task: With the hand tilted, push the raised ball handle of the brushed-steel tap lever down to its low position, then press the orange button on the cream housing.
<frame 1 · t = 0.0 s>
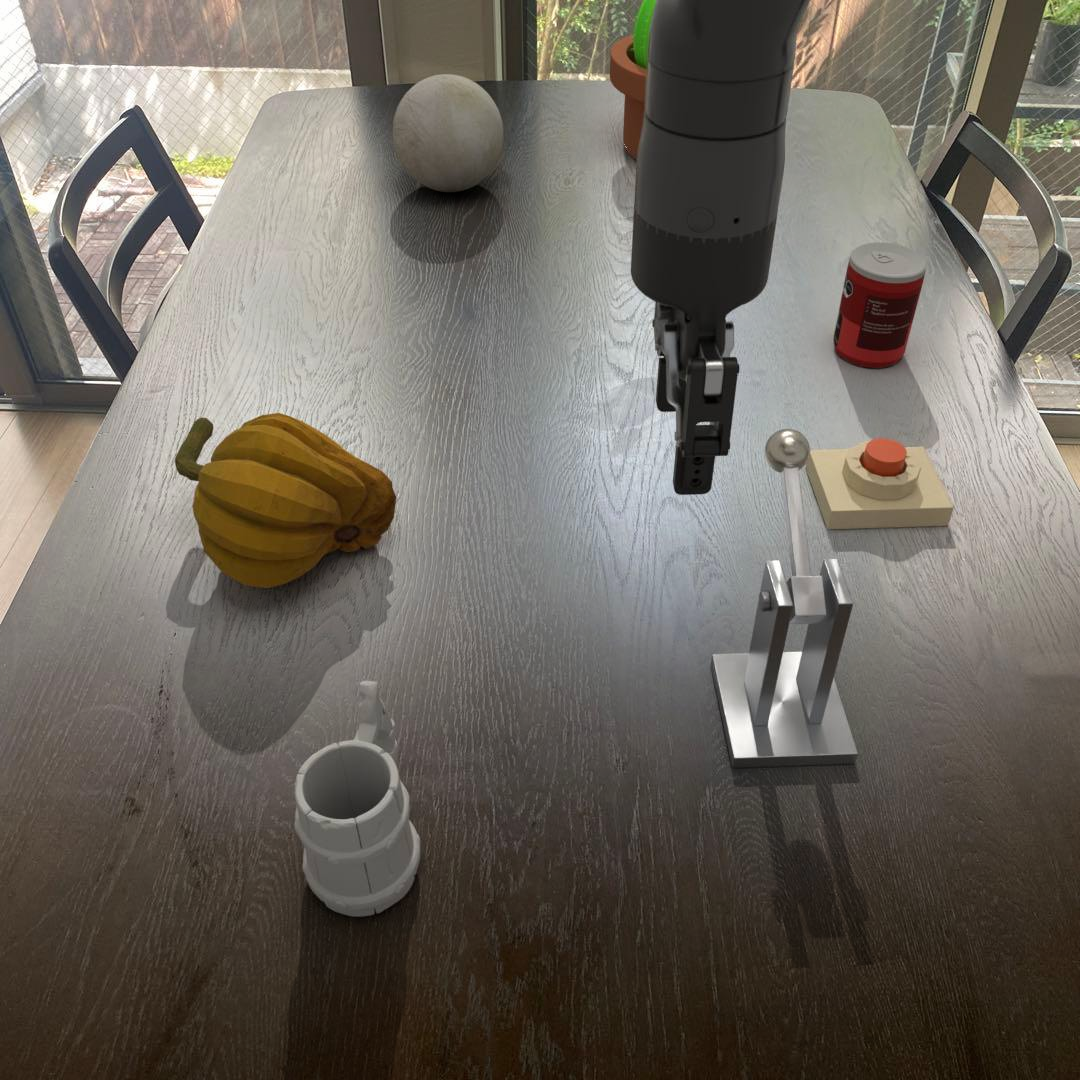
hand: (681, 447, 67), 24 cm above the table, tool pointing down, fingers open, 8 cm apart
potted cactus: (680, 149, 162), on the table
button: (884, 457, 98), point 4 cm above the table, slide at 0.1 cm
tap lever: (795, 522, 76), point 15 cm above the table, hinge at 30.0°
mug: (373, 843, 74), on the table
button box: (874, 496, 101), on the table
tap bracket: (779, 711, 82), on the table
canned food: (867, 351, 120), on the table
decorative sphere: (451, 188, 152), on the table
pumpkin: (286, 551, 96), on the table
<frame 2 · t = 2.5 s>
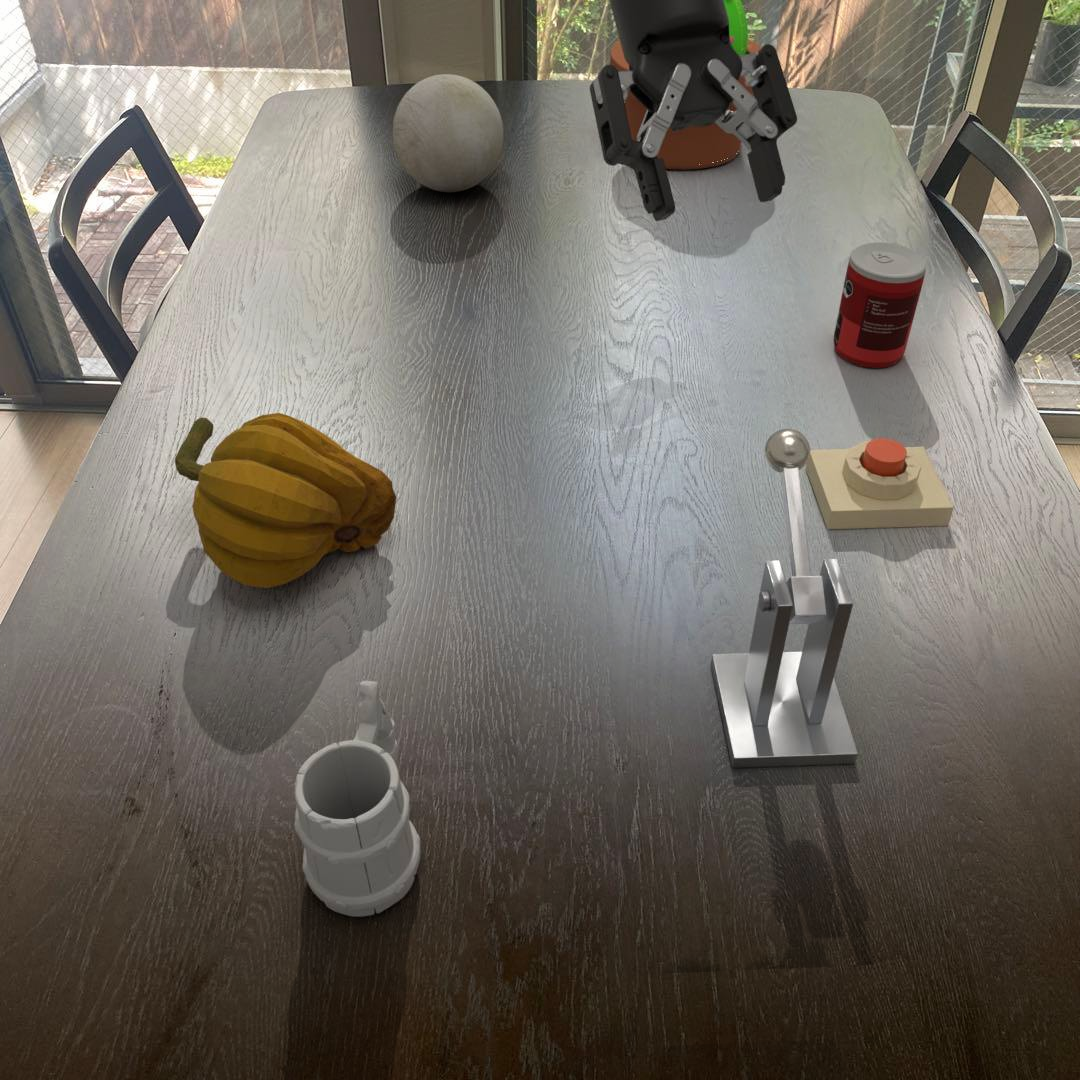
hand: (719, 207, 76), 31 cm above the table, tool tilted 45°, fingers open, 8 cm apart
nothing on the table moved.
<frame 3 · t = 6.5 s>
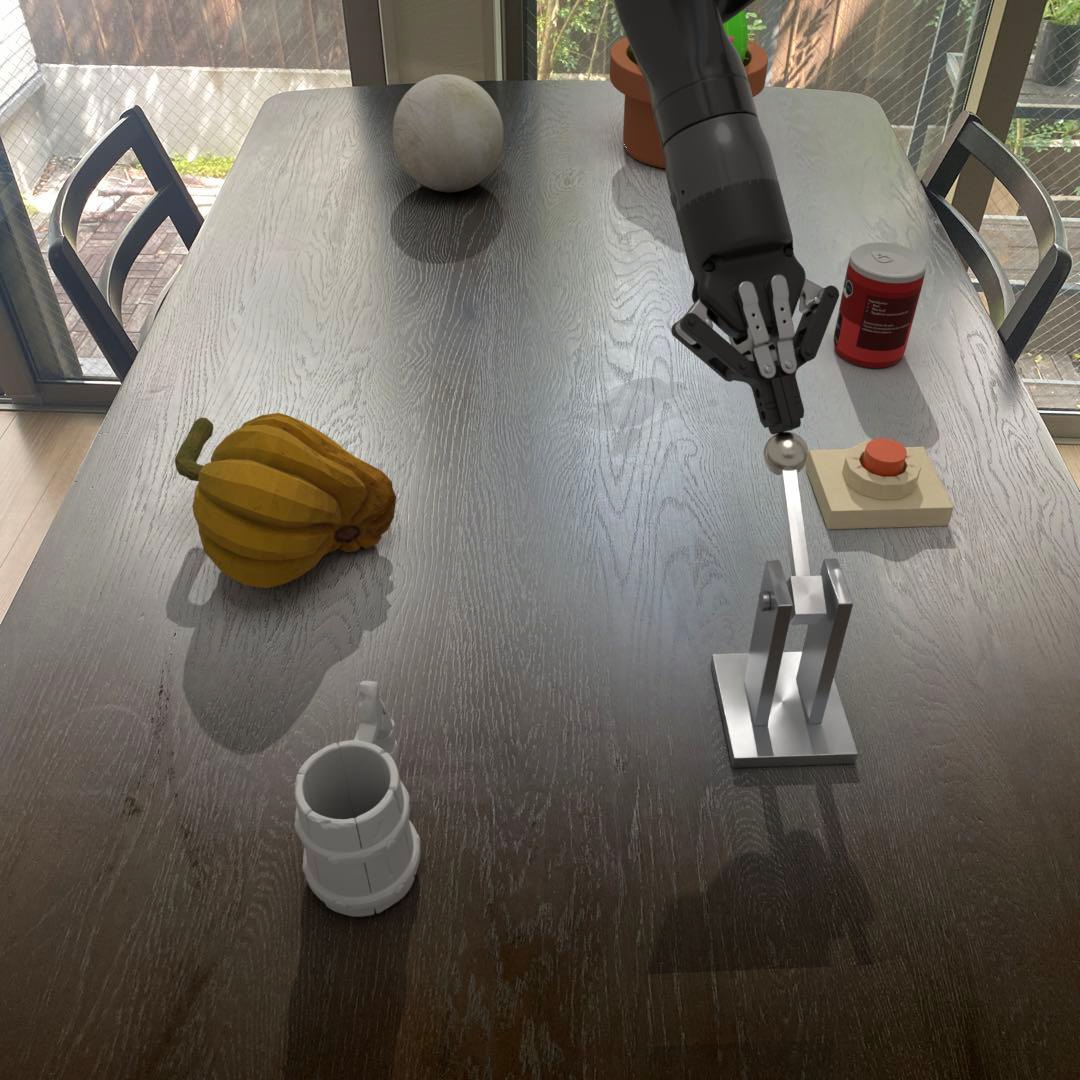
hand: (786, 430, 77), 19 cm above the table, tool tilted 45°, fingers closed
tap lever: (794, 524, 76), point 15 cm above the table, hinge at 27.4°, touching gripper
everything else where it was.
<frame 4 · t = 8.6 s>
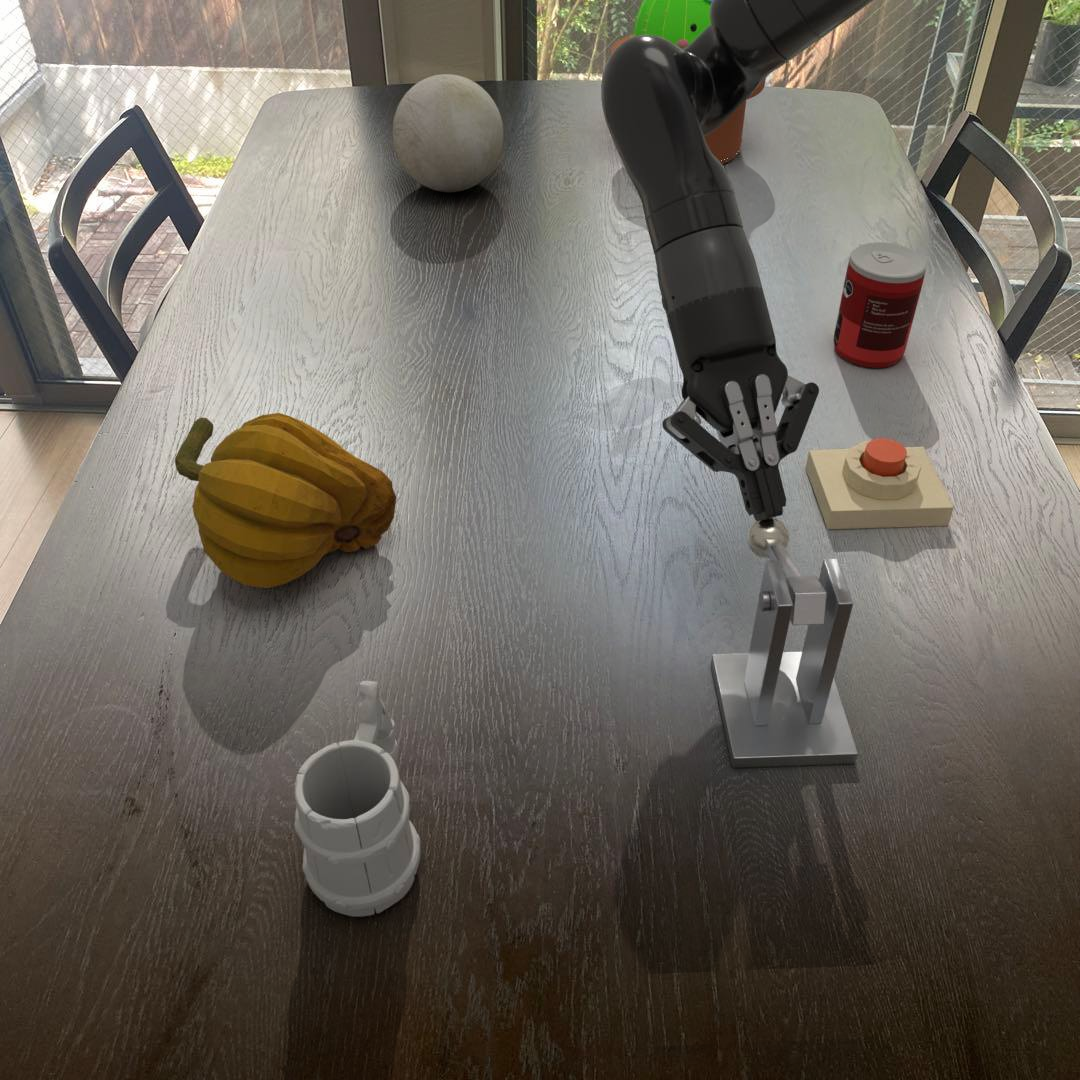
hand: (769, 517, 83), 10 cm above the table, tool tilted 45°, fingers closed
tap lever: (784, 566, 79), point 10 cm above the table, hinge at -19.1°, touching gripper
everything else where it was.
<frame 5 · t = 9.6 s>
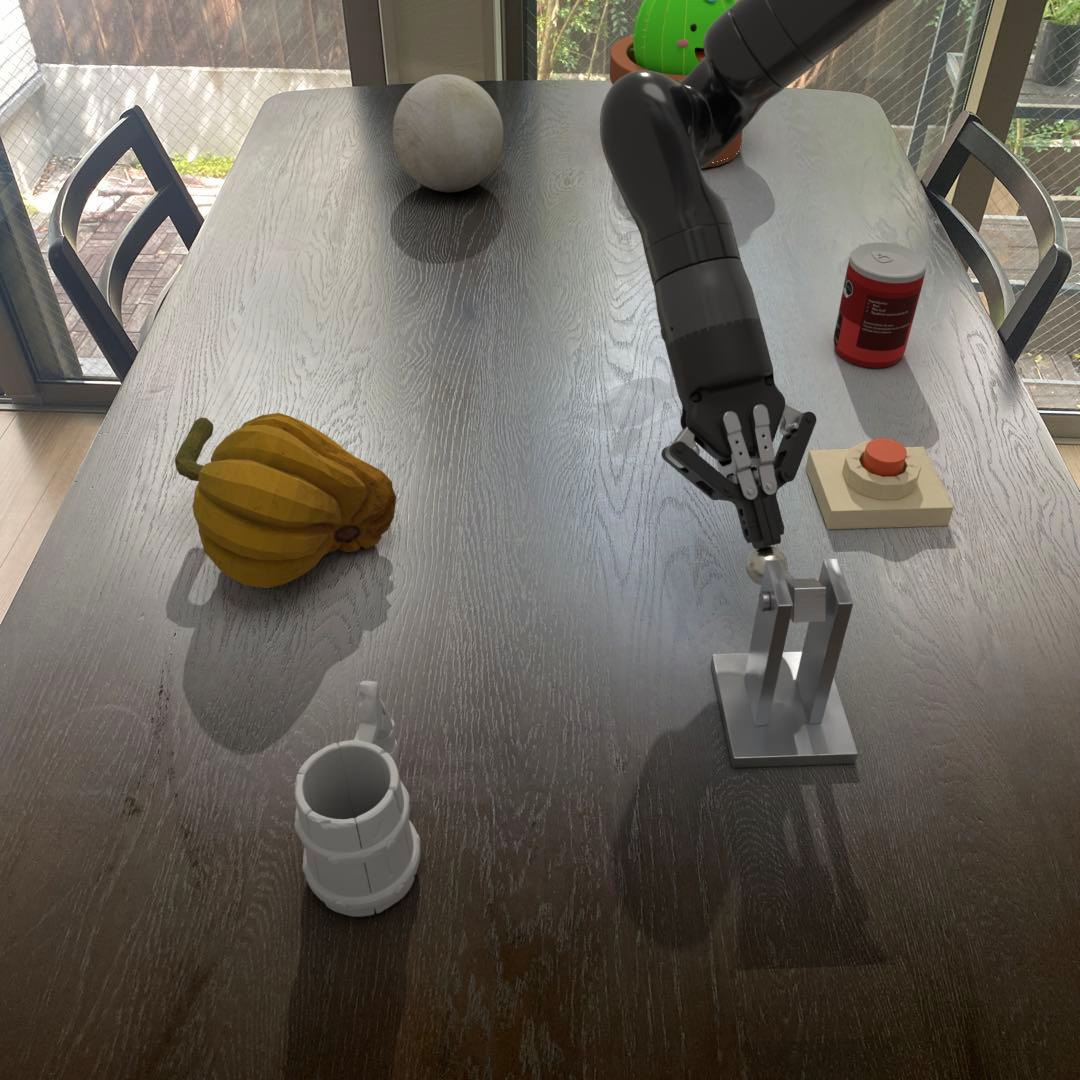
hand: (767, 545, 84), 8 cm above the table, tool tilted 45°, fingers closed
tap lever: (784, 581, 79), point 9 cm above the table, hinge at -31.1°, touching gripper
everything else where it was.
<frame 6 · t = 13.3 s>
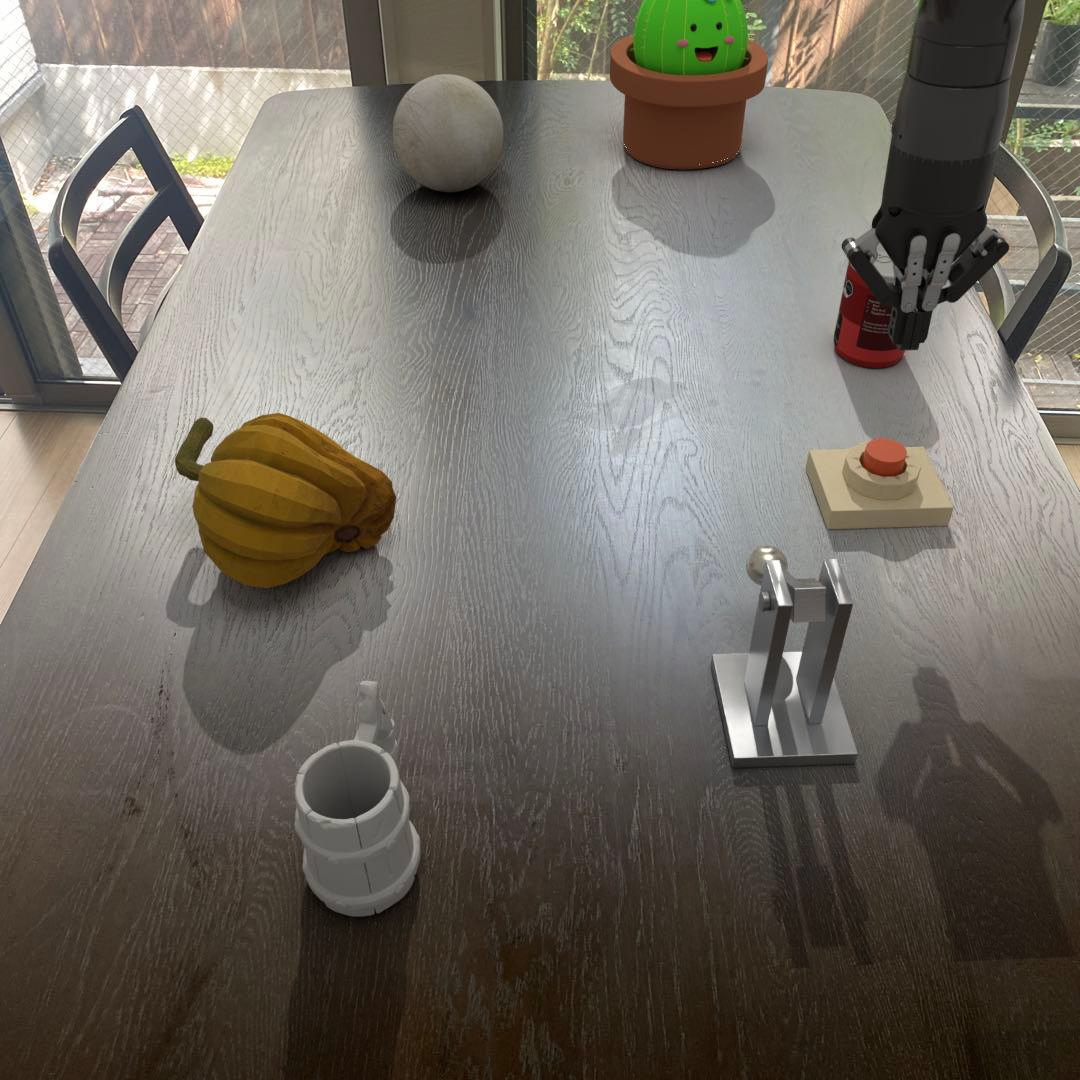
hand: (905, 345, 90), 16 cm above the table, tool pointing down, fingers closed
tap lever: (784, 581, 79), point 9 cm above the table, hinge at -31.1°
everything else where it was.
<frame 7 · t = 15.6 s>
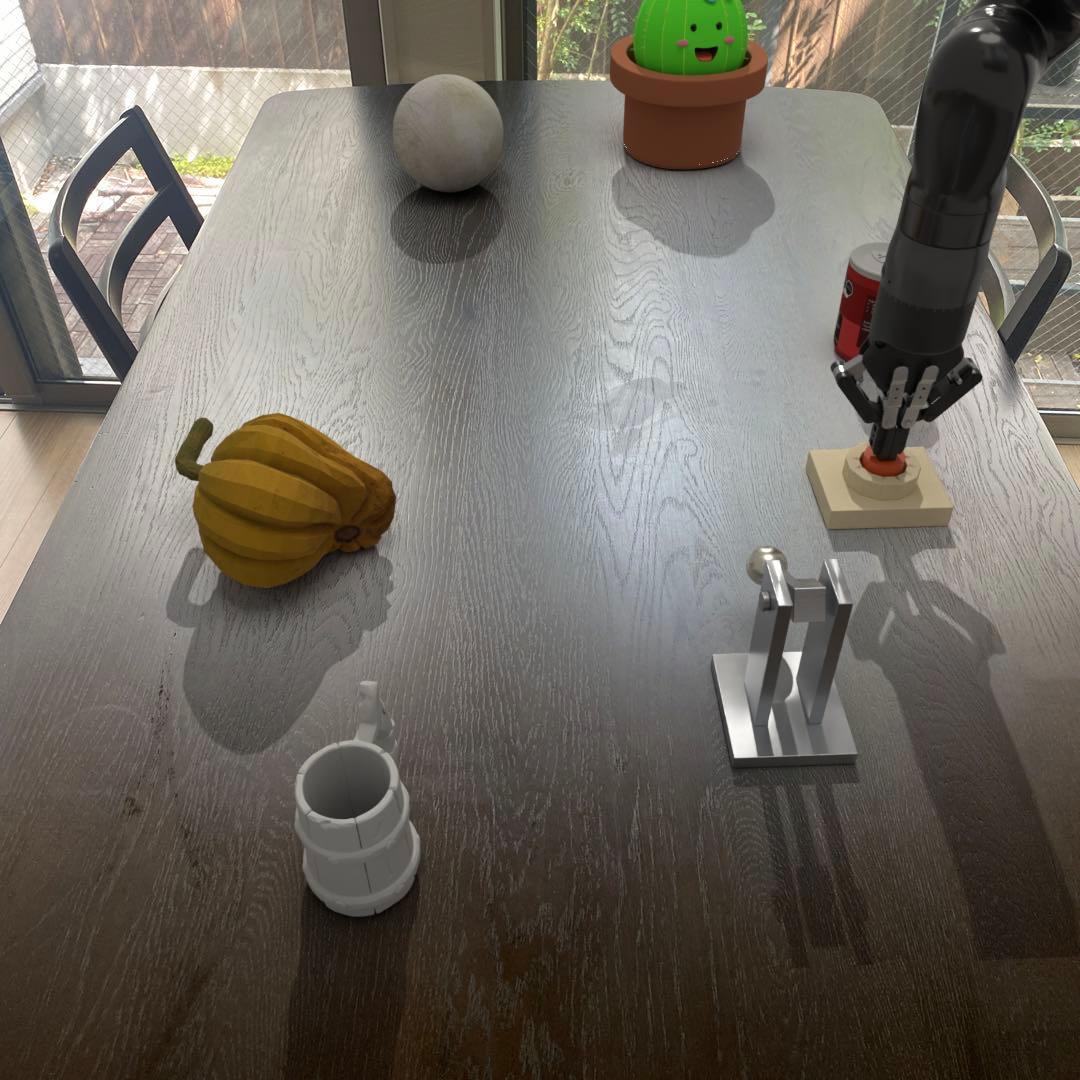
hand: (884, 454, 97), 5 cm above the table, tool pointing down, fingers closed
button: (883, 462, 98), point 4 cm above the table, slide at -0.4 cm, touching gripper
everything else where it was.
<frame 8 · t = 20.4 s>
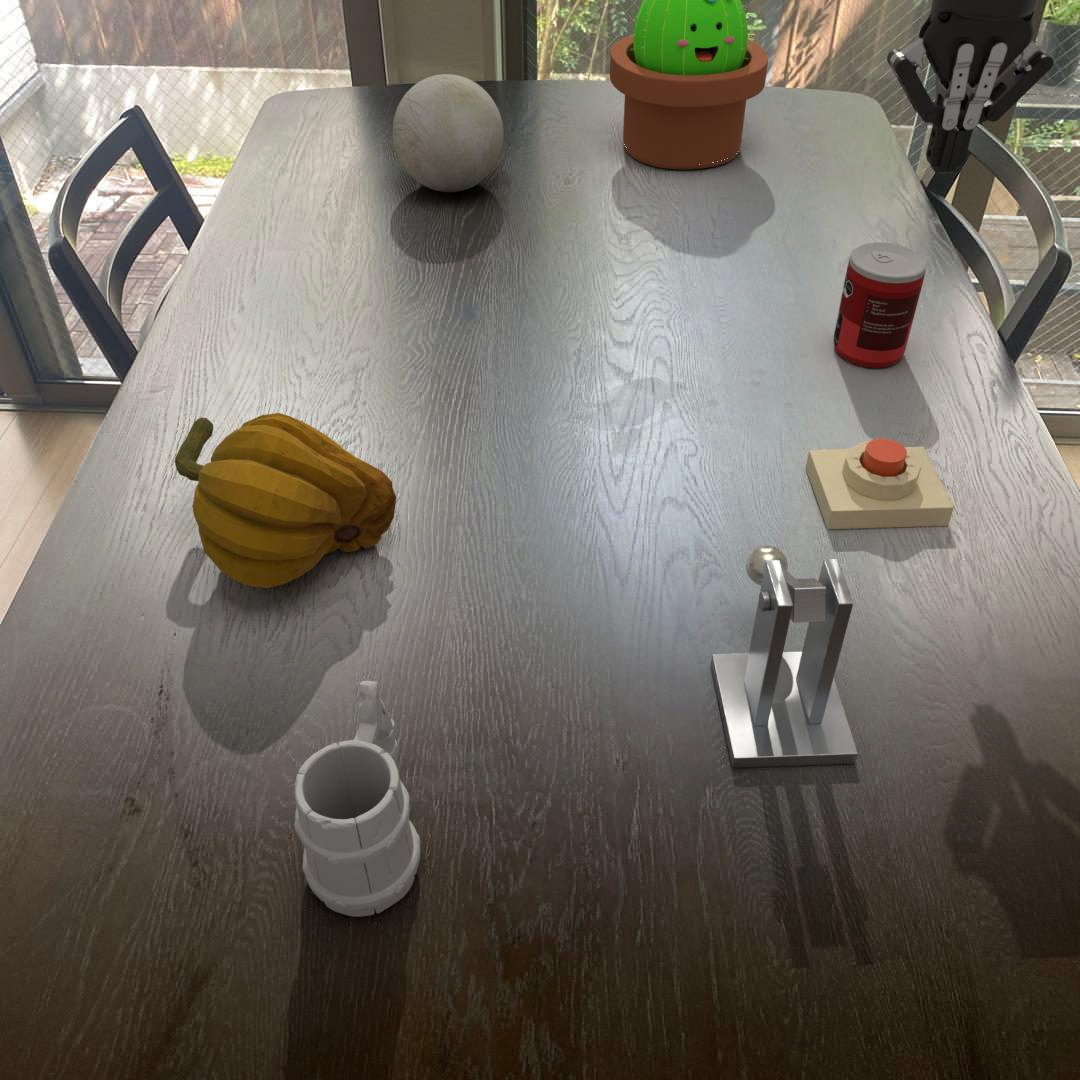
hand: (942, 169, 90), 27 cm above the table, tool pointing down, fingers closed
button: (884, 457, 98), point 4 cm above the table, slide at 0.1 cm
everything else where it was.
at the end: tap lever at -31° (first picture: +30°); button pushed in 1.1 cm at the most during the clip, back to where it started at the end; button slide at 0.1 cm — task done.
